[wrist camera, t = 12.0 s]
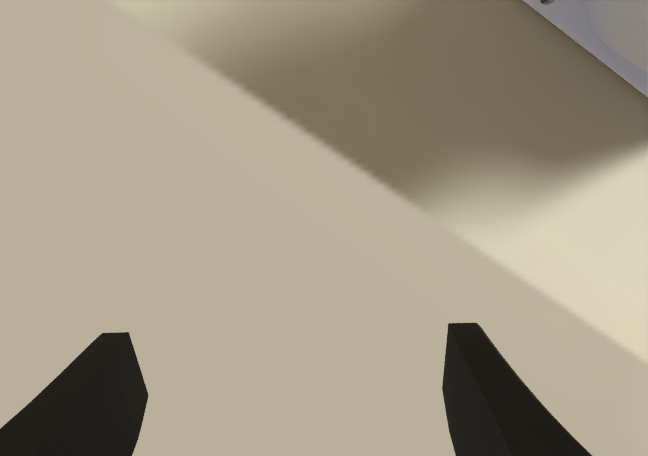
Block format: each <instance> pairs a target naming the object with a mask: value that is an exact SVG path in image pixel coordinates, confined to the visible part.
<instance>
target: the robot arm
mask: <svg viewBox="0 0 648 456" xmlns="http://www.w3.org/2000/svg"><path fill="white" fill-rule="evenodd" d="M523 1H524V2H525V3H527V4H528V5H529V6H531V7H532V8H533V9H534V10H536V11H537V12H538V13H540V14H541V15H542V16H543V17H545V18H546V19H547V20H549V21H550V22H551V23H552V24H554V25H555V26H556V27H558V28H559V29H560V30H561V31H563V32H564V33H565V34H567V35H568V36H569V37H570V38H572V39H573V40H574V41H576V42H577V43H578V44H579V45H581V46H582V47H583V48H585V49H586V50H587V51H588V52H590V53H591V54H592V55H594V56H595V57H596V58H598V59H599V60H600V61H601V62H603V63H604V64H605V65H607V66H608V67H609V68H610V69H612V70H613V71H614V72H616V73H617V74H618V75H619V76H621V77H622V78H623V79H625V80H626V81H627V82H628V83H630V84H631V85H632V86H634V87H635V88H636V89H637V90H639V91H640V92H641V93H643V94H644V95H645V96H646V97H648V0H548V1H547V2H545V3H541V2H540V0H523ZM442 389H443V396H444V402H445V408H446V415H447V420H448V426H449V432H450V435H451V439H452V443H453V446H454V450H455V454H456V456H592V455H591V454H590V453H589V452H587V450H586V449H585V448H584V447H583V446H582V445H581V444H579V442H578V441H577V440H575V439H574V437H572V436H571V434H570V433H569V432H568V431H567V430H566V429H565V428H564V427H563V426H562V425H561V424H560V423H559V422H558V421H557V420H556V419H555V418H554V417H553V416H552V415H551V413H550V412H549V411H548V410H547V409H546V408H545V407H544V406H543V405H542V403H541V402H540V401H539V400H538V399H537V398H536V397H535V395H534V394H533V393H532V392H531V391H530V390H529V388H528V387H527V386H526V385H525V384H524V382H522V381H521V379H520V378H519V377H518V376H517V374H516V373H515V372H514V370H513V369H512V368H511V367H510V365H509V364H508V363H507V362H506V360H505V359H504V358H503V357H502V355H501V354H500V353H499V351H498V350H497V349H496V347H495V346H494V345H493V343H492V342H491V341H490V339H489V338H488V336H487V335H486V334H485V332H484V331H483V329H482V328H481V327H480V326H479V325H478V324H477V323H452V324H451V323H450V324H448V334H447V345H446V355H445V366H444V377H443V387H442ZM147 399H148V392H147V389H146V386H145V383H144V380H143V376H142V373H141V370H140V367H139V364H138V361H137V357H136V355H135V351H134V348H133V345H132V342H131V338H130V335H129V333H128V332H126V333H102V334H101V335H100V336H99V337H98V338H97V339H96V340H94V341H93V342H92V343H91V344H90V345H89V346H88V347H87V348H86V349H85V350H84V351H83V352H82V353H81V354H80V355H79V356H78V357H77V358H76V359H75V360H74V361H73V362H72V363H71V364H70V365H69V366H68V367H67V368H66V369H65V370H64V371H63V372H62V373H61V374H60V375H59V376H58V377H57V378H55V379H54V380H53V381H52V382H51V383H50V384H49V385H48V386H47V387H46V388H45V389H44V390H43V391H42V392H41V393H40V394H39V395H38V396H36V398H34V399H33V400H32V402H30V403H29V404H28V405H27V406H26V407H25V408H23V409H22V410H21V411H20V412H19V413H18V414H17V415H15V416H14V417H13V418H12V419H11V420H10V421H9V422H8V423H6V424H5V425H4V426H3V427H2V428H1V429H0V456H132V454H133V451H134V448H135V446H136V443H137V440H138V437H139V433H140V429H141V425H142V421H143V416H144V412H145V408H146V403H147Z"/></svg>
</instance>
